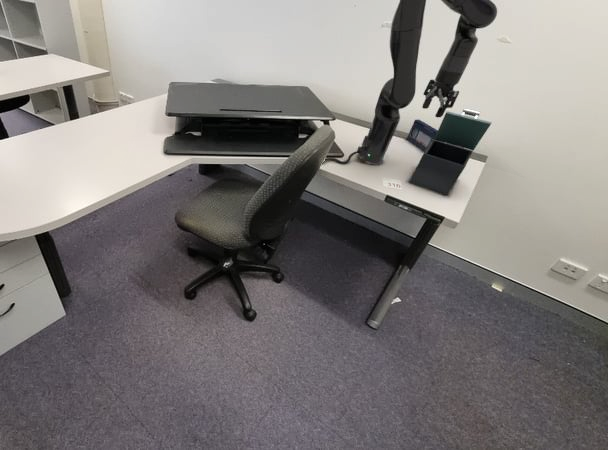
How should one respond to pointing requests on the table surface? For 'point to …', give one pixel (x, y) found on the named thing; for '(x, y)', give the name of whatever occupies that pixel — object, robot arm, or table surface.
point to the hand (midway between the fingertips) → (431, 112)
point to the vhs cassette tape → (421, 135)
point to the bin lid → (462, 129)
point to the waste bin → (440, 167)
